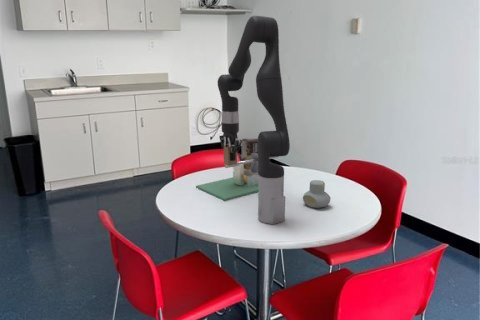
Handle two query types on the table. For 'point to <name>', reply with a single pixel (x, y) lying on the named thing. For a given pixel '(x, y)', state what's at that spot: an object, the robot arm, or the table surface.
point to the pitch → (227, 189)
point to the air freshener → (316, 195)
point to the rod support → (254, 163)
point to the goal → (251, 178)
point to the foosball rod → (236, 166)
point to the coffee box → (248, 150)
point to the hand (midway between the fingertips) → (230, 159)
